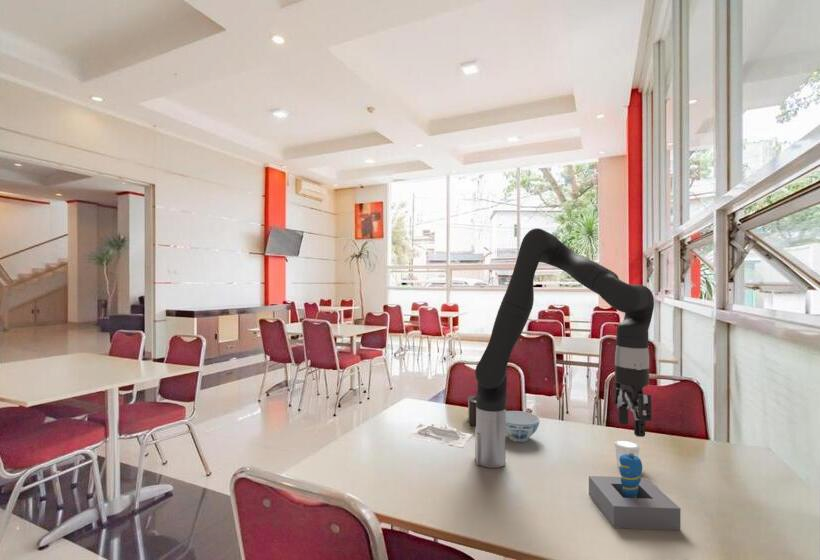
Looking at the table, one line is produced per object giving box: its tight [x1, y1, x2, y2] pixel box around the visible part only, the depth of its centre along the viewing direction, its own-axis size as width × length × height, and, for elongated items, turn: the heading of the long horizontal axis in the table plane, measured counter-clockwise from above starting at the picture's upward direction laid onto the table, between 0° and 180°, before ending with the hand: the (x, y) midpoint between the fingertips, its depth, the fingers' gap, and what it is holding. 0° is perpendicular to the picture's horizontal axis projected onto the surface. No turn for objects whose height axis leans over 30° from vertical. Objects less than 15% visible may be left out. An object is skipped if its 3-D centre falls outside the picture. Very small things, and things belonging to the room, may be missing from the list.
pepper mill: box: [467, 394, 477, 427], centre depth 169 cm, size 16×11×18 cm
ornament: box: [618, 452, 643, 498], centre depth 102 cm, size 5×5×15 cm
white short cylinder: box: [614, 439, 640, 468], centre depth 127 cm, size 7×7×7 cm
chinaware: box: [506, 410, 541, 443], centre depth 150 cm, size 15×15×8 cm
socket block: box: [588, 475, 681, 531], centre depth 102 cm, size 15×15×5 cm
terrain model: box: [407, 423, 474, 448], centre depth 152 cm, size 17×23×5 cm
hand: (631, 429), depth 102 cm, fingers open, 8 cm apart
